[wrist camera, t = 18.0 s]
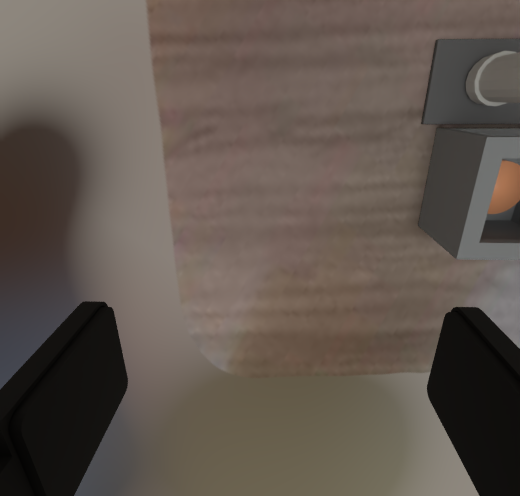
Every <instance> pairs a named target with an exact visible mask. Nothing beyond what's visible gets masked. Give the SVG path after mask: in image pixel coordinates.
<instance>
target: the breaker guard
mask: <svg viewBox="0 0 520 496" xmlns="http://www.w3.org/2000/svg"><path fill="white" fill-rule="evenodd" d="M502 160H507V161H510V162H514V163H517V164H518V165H520V128H437V130H436V135H435V140H434V145H433V151H432V156H431V161H430V166H429V171H428V176H427V182H426V187H425V192H424V197H423V202H422V208H421V213H420V218H419V223H418V226H419V227H420V228H421V229H423V230H424V231H425V232H426V233H427V234H428V235H429V236H430V237H432V238H433V239H434V240H435V241H436V242H437V243H438V244H440V245H441V246H442V247H443V248H444V249H445V250H446V251H448V252H449V253H450V254H451V255H452V256H453V257H454V258H456V259H475V260H520V200H519V202H518V203H517V204H516V205H514V206H513V207H512V208H510V209H508V210H507V211H504V212H502V213H498V214H487V213H488V209H489V206H490V202H491V198H492V195H493V191H494V187H495V184H496V180H497V177H498V173H499V169H500V166H501V162H502Z"/></svg>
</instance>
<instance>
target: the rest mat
mask: <svg viewBox="0 0 520 496" xmlns="http://www.w3.org/2000/svg"><path fill="white" fill-rule="evenodd" d="M502 51H512V52H516V53H519V52H520V39H438V40H436V43H435V49H434V55H433V60H432V66H431V72H430V78H429V83H428V89H427V95H426V100H425V106H424V112H423V118H422V123H421V124H520V103H506V104H502V105H499V106H487V105H483V104H477V103H475V102H474V101H472V100H471V99H470V98H469V96H468V94H467V92H466V80H467V77H468V73H469V72H470V70H471V69H472V68H473V66H474V65H475V64H476V63H477V62H478V61H480V60H481V59H482V58H484V57H487V56H490V55H492V54H495V53H499V52H502Z"/></svg>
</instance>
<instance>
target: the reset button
mask: <svg viewBox="0 0 520 496" xmlns="http://www.w3.org/2000/svg"><path fill="white" fill-rule="evenodd" d="M519 200H520V165H518V164H517V163H514V162H510V161H507V160H502V162H501V166H500V169H499V173H498V177H497V180H496V184H495V187H494V191H493V195H492V198H491V202H490V206H489V209H488V213H487V214H498V213H502V212H504V211H507V210H508V209H510V208H512V207H513V206H514V205H516V204H517V203H518V202H519Z"/></svg>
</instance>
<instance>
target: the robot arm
mask: <svg viewBox="0 0 520 496" xmlns="http://www.w3.org/2000/svg"><path fill="white" fill-rule="evenodd" d="M127 384H128V378H127V373H126V369H125V364H124V359H123V354H122V349H121V344H120V339H119V335H118V330H117V325H116V320H115V316H114V311H113V309H112V308H111V307H108V306H107V304H106V303H105V302H82V303H81V304H80V305H79V306H78V307H77V308H76V309H75V310H74V311H73V312H72V313H71V314H70V315H69V316H68V318H67V319H66V320H65V321H64V322H63V323H62V324H61V325H60V326H59V327H58V328H57V329H56V330H55V332H54V333H53V334H52V335H51V336H50V337H49V338H48V339H47V340H46V341H45V342H44V343H43V344H42V345H41V347H40V348H39V349H38V350H37V351H36V352H35V353H34V354H33V355H32V356H31V357H30V358H29V359H28V360H27V361H26V363H25V364H24V365H23V366H22V367H21V368H20V369H19V370H18V371H17V372H16V373H15V374H14V375H13V376H12V378H11V379H10V380H9V381H8V382H7V383H6V384H5V385H4V386H3V387H2V388H1V390H0V496H74V494H75V492H76V491H77V489H78V486H79V485H80V483H81V480H82V478H83V476H84V474H85V473H86V471H87V468H88V466H89V464H90V462H91V460H92V458H93V456H94V454H95V452H96V450H97V448H98V446H99V444H100V442H101V440H102V438H103V436H104V434H105V432H106V430H107V428H108V426H109V424H110V422H111V420H112V418H113V416H114V414H115V412H116V410H117V408H118V406H119V404H120V402H121V400H122V398H123V396H124V394H125V392H126V389H127ZM427 392H428V397H429V399H430V401H431V403H432V405H433V407H434V409H435V411H436V413H437V415H438V417H439V419H440V421H441V423H442V425H443V426H444V428H445V430H446V432H447V434H448V436H449V438H450V440H451V442H452V444H453V445H454V447H455V449H456V451H457V453H458V455H459V457H460V459H461V461H462V463H463V465H464V467H465V469H466V471H467V472H468V475H469V476H470V478H471V480H472V482H473V484H474V486H475V488H476V490H477V492H478V493H479V495H480V496H520V349H519V348H518V347H517V346H516V345H515V344H514V343H513V342H512V341H511V340H510V339H509V338H508V337H507V336H506V335H505V334H504V333H503V332H502V331H501V330H500V329H499V328H498V326H497V325H496V324H495V323H494V322H493V321H492V320H491V319H490V318H489V317H488V316H487V315H486V314H485V313H484V312H483V311H482V310H481V309H479V308H476V307H455V308H453V309H452V310H451V312H448V313H446V315H445V317H444V321H443V325H442V329H441V333H440V337H439V341H438V345H437V349H436V353H435V357H434V361H433V365H432V369H431V373H430V376H429V381H428V385H427Z"/></svg>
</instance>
